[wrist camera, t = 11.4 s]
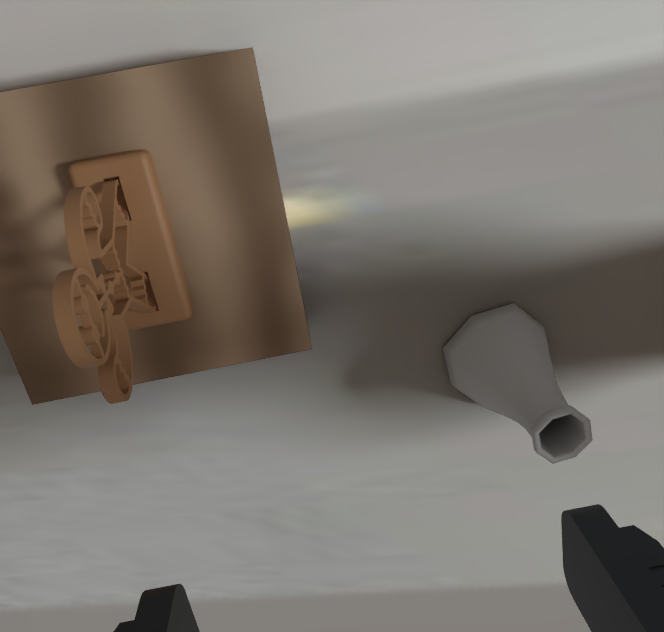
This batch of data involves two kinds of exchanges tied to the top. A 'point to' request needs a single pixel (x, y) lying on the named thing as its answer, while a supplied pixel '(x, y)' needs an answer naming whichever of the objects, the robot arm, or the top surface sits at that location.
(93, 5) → the top surface
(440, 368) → the top surface
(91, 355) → the gingerbread man figurine
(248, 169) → the walnut plinth
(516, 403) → the flask
